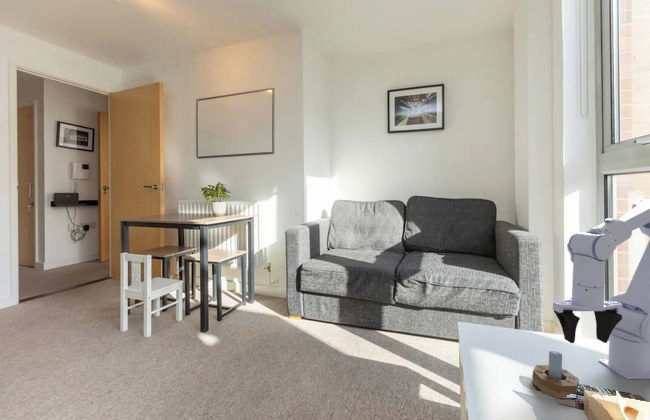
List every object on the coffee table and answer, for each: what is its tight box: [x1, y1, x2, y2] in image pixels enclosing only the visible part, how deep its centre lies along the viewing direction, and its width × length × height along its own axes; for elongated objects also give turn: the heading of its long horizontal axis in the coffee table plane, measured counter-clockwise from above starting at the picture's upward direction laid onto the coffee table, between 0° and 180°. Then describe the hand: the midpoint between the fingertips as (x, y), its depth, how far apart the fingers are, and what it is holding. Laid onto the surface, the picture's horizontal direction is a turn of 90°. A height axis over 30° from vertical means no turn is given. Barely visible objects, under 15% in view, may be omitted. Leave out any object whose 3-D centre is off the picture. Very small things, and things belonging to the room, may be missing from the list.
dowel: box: [548, 350, 563, 380], centre depth 71 cm, size 2×2×8 cm
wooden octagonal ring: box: [532, 364, 580, 399], centre depth 72 cm, size 8×8×3 cm
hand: (585, 340), depth 74 cm, fingers open, 7 cm apart
